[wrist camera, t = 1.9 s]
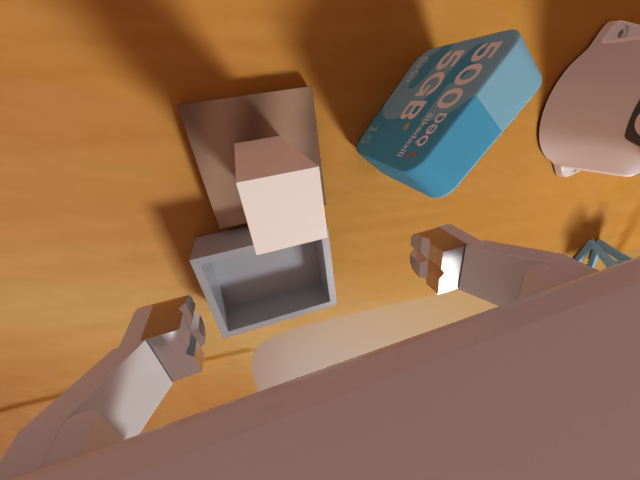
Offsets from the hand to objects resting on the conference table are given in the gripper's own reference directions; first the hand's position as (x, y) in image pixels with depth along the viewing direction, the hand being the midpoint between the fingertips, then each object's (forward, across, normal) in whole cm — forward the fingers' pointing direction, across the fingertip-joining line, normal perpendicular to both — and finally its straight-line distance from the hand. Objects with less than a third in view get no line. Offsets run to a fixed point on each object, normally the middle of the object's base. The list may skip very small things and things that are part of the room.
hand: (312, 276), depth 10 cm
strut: (+20, 0, 0) cm, 20 cm away
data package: (+22, -16, -2) cm, 27 cm away
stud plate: (+22, 0, 0) cm, 22 cm away
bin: (+22, +2, +12) cm, 25 cm away
